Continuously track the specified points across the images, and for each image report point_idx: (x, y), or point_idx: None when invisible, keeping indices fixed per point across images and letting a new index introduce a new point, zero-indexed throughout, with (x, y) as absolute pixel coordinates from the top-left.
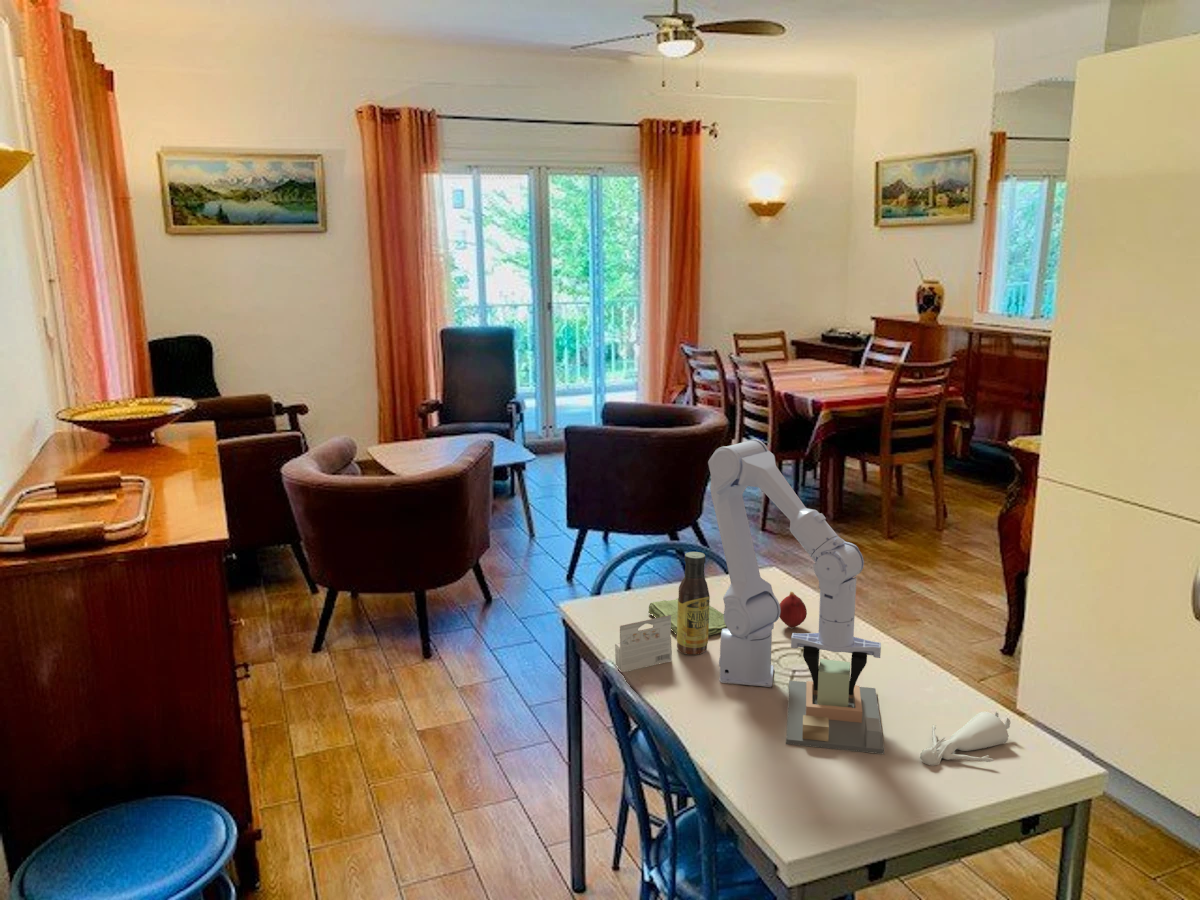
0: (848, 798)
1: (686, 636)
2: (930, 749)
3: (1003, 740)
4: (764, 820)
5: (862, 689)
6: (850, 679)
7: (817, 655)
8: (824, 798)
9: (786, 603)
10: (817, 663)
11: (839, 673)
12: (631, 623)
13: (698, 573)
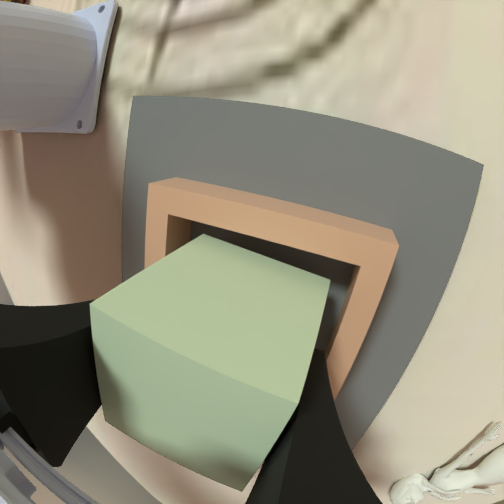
0: (231, 500)
1: None
2: (410, 501)
3: None
4: (139, 480)
5: (427, 170)
6: (264, 461)
7: (46, 450)
8: (200, 491)
9: None
10: (75, 440)
11: (196, 466)
12: None
13: None
